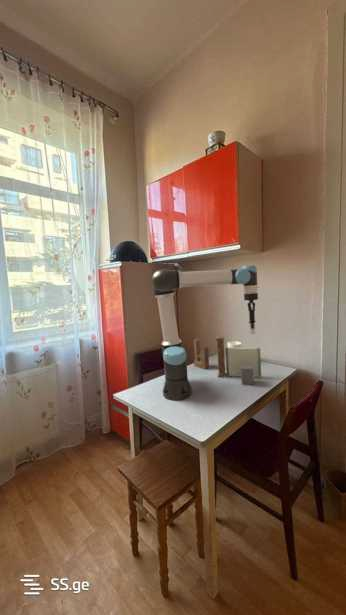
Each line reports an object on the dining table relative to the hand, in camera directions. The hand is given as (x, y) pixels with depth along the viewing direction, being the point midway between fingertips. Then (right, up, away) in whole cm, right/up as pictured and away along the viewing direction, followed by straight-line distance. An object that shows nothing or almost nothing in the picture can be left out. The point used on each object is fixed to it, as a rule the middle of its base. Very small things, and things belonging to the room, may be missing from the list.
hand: (252, 333), depth 143 cm
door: (-5, -24, +2) cm, 25 cm away
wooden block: (-27, -25, +23) cm, 43 cm away
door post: (-17, -26, +5) cm, 31 cm away
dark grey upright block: (-5, -26, -6) cm, 27 cm away
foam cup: (-3, -23, +30) cm, 37 cm away
